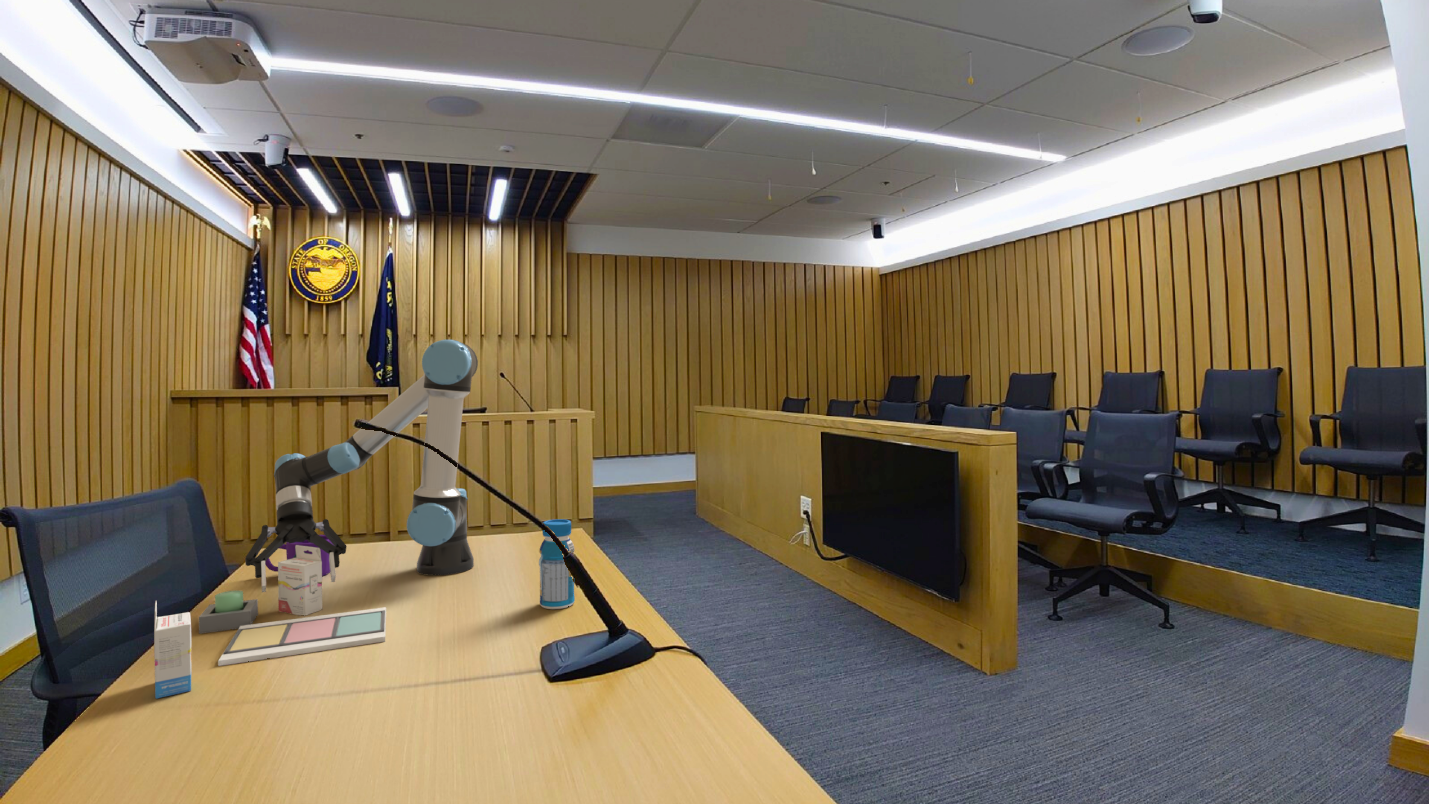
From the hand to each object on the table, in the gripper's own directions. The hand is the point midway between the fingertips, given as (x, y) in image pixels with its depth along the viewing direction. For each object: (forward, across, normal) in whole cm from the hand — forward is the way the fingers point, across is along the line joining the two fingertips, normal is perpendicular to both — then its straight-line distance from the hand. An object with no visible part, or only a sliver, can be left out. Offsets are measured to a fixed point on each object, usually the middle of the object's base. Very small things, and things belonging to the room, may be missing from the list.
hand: (299, 583), depth 153 cm
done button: (+3, +13, -4) cm, 14 cm away
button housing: (+4, +13, -6) cm, 15 cm away
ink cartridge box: (+4, 0, -6) cm, 7 cm away
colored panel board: (+17, -1, +8) cm, 19 cm away
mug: (-20, -2, -31) cm, 37 cm away
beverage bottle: (+25, -51, +15) cm, 59 cm away
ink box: (+27, +21, +17) cm, 38 cm away
